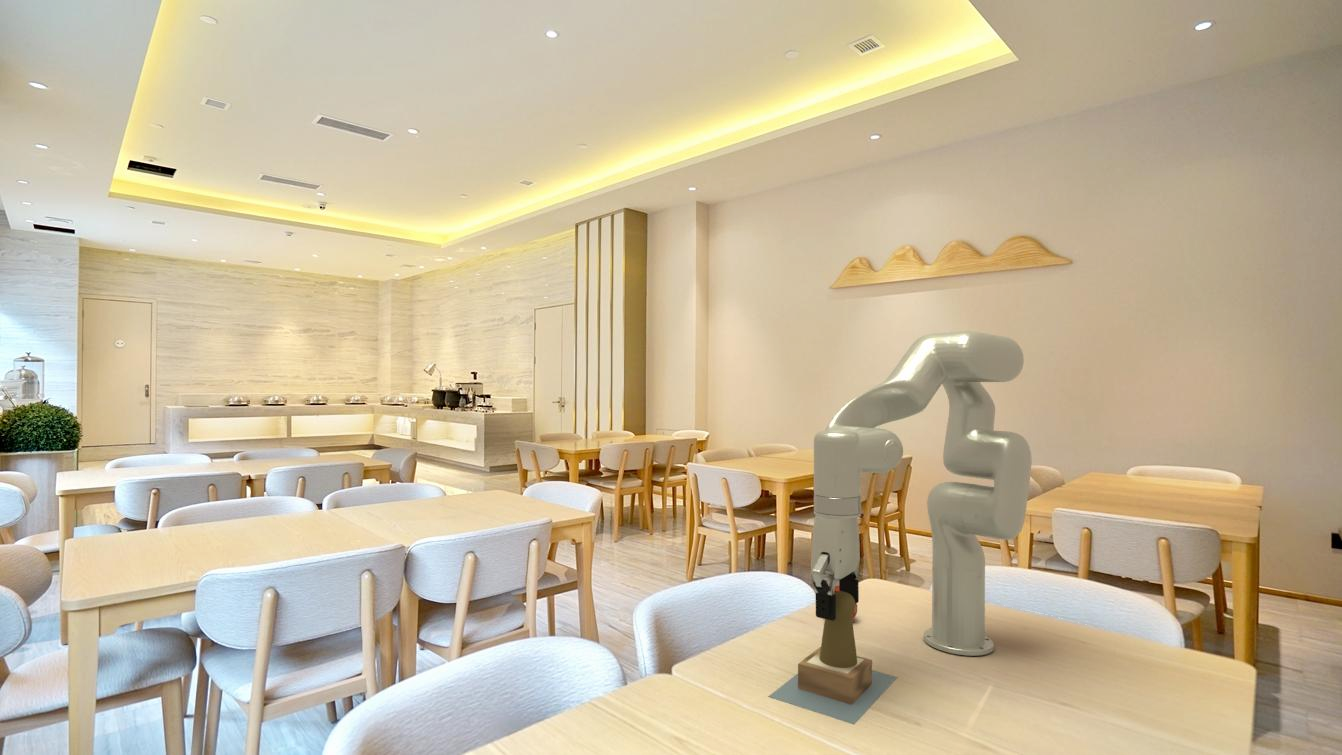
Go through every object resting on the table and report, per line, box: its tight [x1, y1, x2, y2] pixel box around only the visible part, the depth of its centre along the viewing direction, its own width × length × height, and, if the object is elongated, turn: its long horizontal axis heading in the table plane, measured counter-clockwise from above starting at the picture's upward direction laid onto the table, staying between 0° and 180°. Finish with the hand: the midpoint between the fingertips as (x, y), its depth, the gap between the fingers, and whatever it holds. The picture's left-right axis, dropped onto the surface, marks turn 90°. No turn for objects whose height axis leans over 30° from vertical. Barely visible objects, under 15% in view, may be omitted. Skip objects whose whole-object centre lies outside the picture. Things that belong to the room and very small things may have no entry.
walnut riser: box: [797, 646, 873, 705], centre depth 107 cm, size 9×9×4 cm
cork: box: [819, 591, 858, 668], centre depth 108 cm, size 6×6×11 cm
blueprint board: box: [767, 669, 898, 725], centre depth 107 cm, size 20×14×1 cm
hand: (837, 609), depth 108 cm, fingers open, 9 cm apart
